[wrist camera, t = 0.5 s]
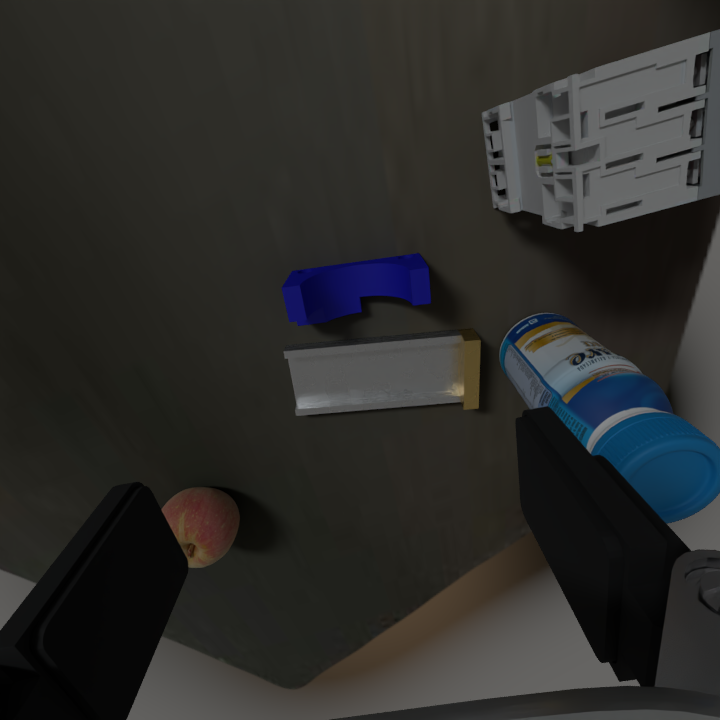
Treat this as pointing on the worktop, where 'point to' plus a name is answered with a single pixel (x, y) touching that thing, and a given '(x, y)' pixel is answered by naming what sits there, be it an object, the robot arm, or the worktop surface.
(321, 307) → the blue plastic bracket
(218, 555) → the apple
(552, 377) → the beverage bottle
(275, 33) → the worktop surface
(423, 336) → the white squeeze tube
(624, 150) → the circuit breaker
